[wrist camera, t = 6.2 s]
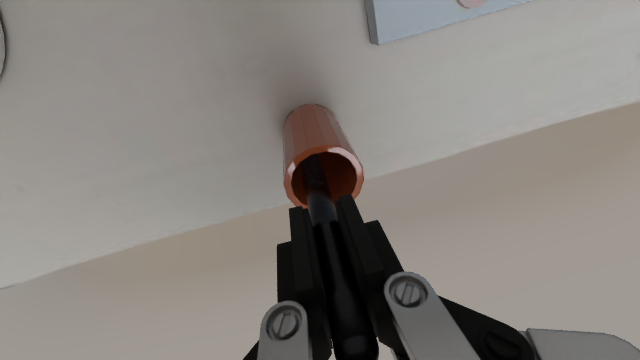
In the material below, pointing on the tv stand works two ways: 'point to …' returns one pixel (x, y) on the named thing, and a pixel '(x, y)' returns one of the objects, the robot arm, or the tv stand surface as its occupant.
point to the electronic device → (423, 15)
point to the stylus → (337, 272)
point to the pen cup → (332, 147)
